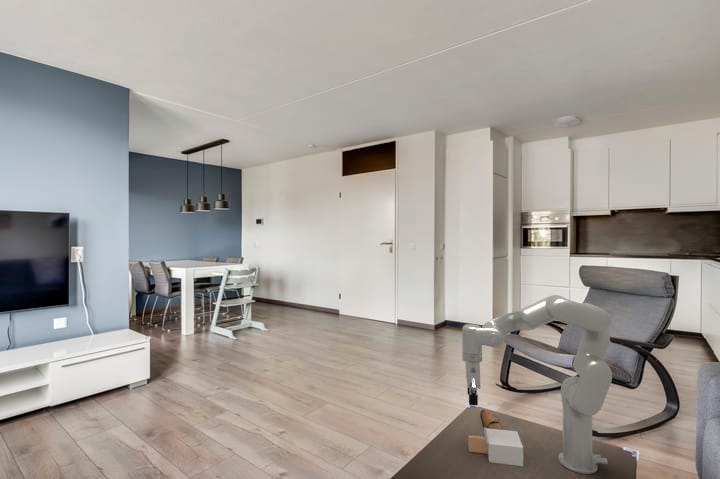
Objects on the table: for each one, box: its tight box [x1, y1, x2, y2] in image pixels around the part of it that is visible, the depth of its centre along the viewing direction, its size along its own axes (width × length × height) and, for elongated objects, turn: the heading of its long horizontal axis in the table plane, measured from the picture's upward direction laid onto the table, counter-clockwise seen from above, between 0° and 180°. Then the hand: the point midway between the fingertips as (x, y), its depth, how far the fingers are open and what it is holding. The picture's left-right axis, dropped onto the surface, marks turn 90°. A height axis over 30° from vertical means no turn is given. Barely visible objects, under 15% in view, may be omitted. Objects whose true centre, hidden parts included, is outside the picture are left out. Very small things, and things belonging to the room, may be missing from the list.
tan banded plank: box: [468, 434, 488, 455], centre depth 146 cm, size 13×2×6 cm, turn 77°
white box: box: [483, 427, 524, 467], centre depth 145 cm, size 13×12×7 cm
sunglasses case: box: [480, 409, 504, 430], centre depth 168 cm, size 18×7×7 cm
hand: (472, 399), depth 147 cm, fingers open, 9 cm apart
